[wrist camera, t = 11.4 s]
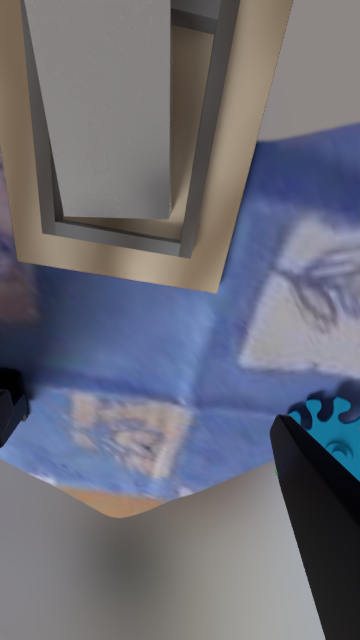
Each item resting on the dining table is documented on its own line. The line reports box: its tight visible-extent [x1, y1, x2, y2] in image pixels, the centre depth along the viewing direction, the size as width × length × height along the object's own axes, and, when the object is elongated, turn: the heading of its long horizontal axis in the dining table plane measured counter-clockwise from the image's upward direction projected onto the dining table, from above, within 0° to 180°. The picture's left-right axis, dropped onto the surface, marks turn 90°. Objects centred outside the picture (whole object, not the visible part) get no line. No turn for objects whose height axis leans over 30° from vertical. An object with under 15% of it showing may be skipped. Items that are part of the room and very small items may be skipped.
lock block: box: [24, 0, 173, 219], centre depth 12 cm, size 5×7×4 cm
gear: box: [275, 396, 360, 481], centre depth 24 cm, size 11×6×10 cm
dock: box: [0, 0, 293, 293], centre depth 13 cm, size 14×16×2 cm
